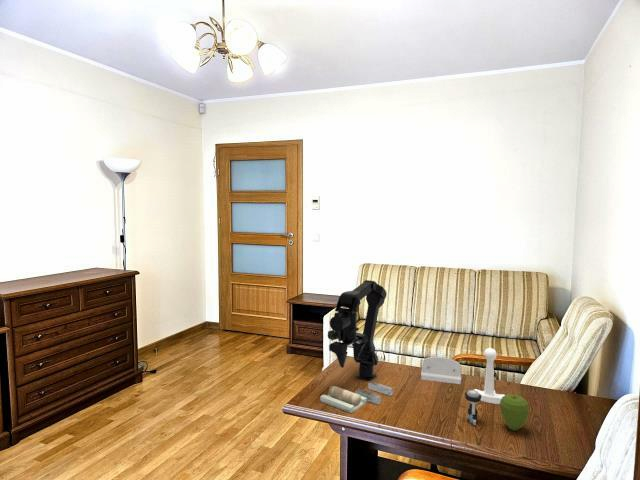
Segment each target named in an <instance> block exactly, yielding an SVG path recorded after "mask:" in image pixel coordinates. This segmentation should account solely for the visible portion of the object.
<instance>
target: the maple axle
mask: <svg viewBox="0 0 640 480" xmlns="http://www.w3.org/2000/svg"><path fill="white" fill-rule="evenodd" d="M328 395H329V396H331V397H334V398H336V399H339V400H342V401H344V402H347V403H350V404H353V405H355V406H358V405H359V404H360V401H361V396H360V395H359V394H356V392H353V391H350V390H347V389H345V388H341V387H339V386H336V385H331V386H329V389H328Z"/></svg>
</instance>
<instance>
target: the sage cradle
mask: <svg viewBox="0 0 640 480" xmlns="http://www.w3.org/2000/svg"><path fill="white" fill-rule="evenodd" d="M319 399H320V403H323V404H326V405H328V406H331V407H334V408H336V409H339V410H341V411H344V412H347V413H350V414H352V413H354V412H355V411H357V410H358V409H360V408H361V407H363V406H364V405H365V404H367V403H368V401H367V398H366V397H363V396H361V401H360V404H359V405H358V406H355V405H353V404H350V403H347V402H344V401H342V400H339V399H336V398H334V397H331V396H329V394H322V395H321V396H320V398H319Z"/></svg>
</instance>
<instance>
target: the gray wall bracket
mask: <svg viewBox="0 0 640 480" xmlns="http://www.w3.org/2000/svg"><path fill="white" fill-rule="evenodd" d="M461 370H462V369H461V364H460V362H459V361H456V360H454V359H452V358H448V357H444V356H432V357H431V356H430V357H425V358H424V359H423V360H422V365H421V372H420V380H423V381H432V382H440V383H446V384H447V383H448V384H457V385H462V380H463V379H462V371H461Z"/></svg>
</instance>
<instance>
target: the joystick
mask: <svg viewBox="0 0 640 480" xmlns="http://www.w3.org/2000/svg"><path fill="white" fill-rule="evenodd" d="M483 356H484V358H485V359H486V366H485V377H484V387H483V388H484V389H483V390H480V389H476V388H474V389H473V390H476V391H478V392H479V394H481V396H482V397H481V401H480V402H485V403H489V404H495V405H500V401H501V399H502V397H503V396H505V395H506V394H501V393H497V392H496V390H495V382H494V380H495V379H494V377H495V376H494V375H495V374H494V373H495V372H494V371H495V370H494V361H495V360H496V358H497V357H498V353H497V351H496V349H494V348H493V347H492V348H491V347H487V348H486V349H485V350H484V352H483Z"/></svg>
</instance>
